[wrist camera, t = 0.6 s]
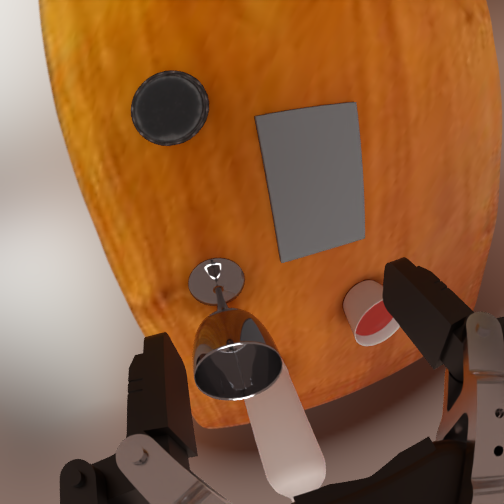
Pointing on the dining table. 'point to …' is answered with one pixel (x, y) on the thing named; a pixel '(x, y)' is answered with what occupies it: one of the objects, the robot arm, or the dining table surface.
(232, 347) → the wine glass
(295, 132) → the place mat
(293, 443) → the bottle
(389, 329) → the candle
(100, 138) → the dining table surface
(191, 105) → the pill bottle
